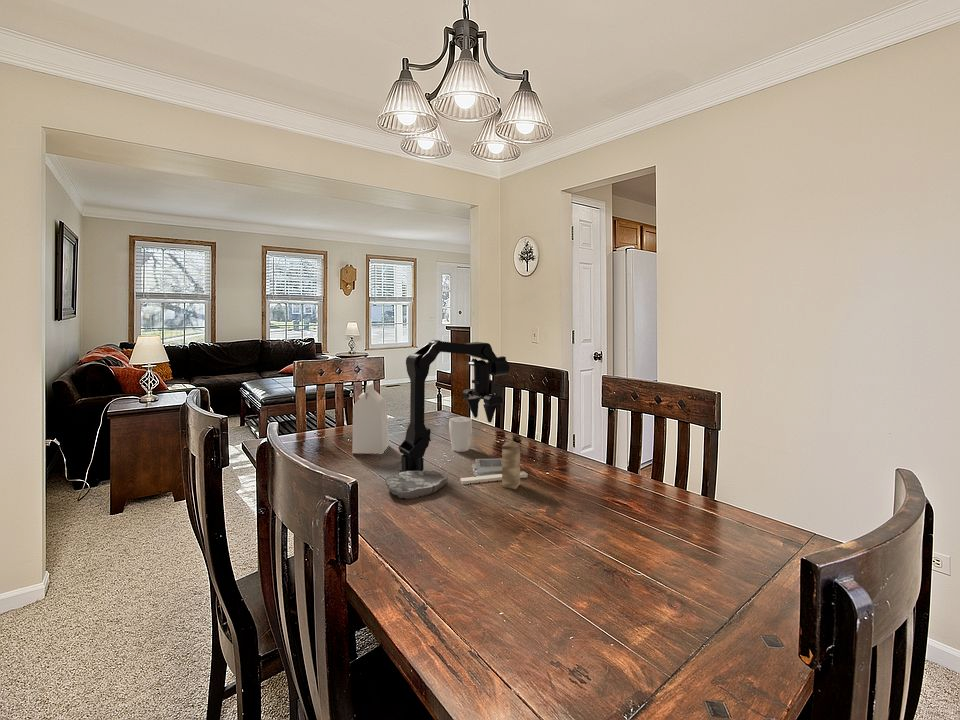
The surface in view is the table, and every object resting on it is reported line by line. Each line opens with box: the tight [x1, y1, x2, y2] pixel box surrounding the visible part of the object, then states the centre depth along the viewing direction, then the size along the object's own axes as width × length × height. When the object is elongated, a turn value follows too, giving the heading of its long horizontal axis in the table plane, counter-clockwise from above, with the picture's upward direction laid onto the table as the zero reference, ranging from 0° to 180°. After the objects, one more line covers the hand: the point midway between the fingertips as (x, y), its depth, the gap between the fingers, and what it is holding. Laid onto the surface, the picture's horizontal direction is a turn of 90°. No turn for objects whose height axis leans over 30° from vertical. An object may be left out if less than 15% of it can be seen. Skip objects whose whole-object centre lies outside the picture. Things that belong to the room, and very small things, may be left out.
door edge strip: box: [459, 471, 529, 485], centre depth 157 cm, size 22×3×1 cm, turn 107°
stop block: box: [501, 441, 521, 490], centre depth 151 cm, size 5×5×13 cm
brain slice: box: [384, 470, 449, 500], centre depth 149 cm, size 20×17×3 cm
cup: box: [448, 416, 473, 453], centre depth 190 cm, size 9×9×12 cm
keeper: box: [471, 457, 502, 477], centre depth 166 cm, size 12×11×3 cm
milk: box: [351, 382, 390, 455], centre depth 189 cm, size 12×12×26 cm
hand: (482, 419), depth 177 cm, fingers open, 9 cm apart
